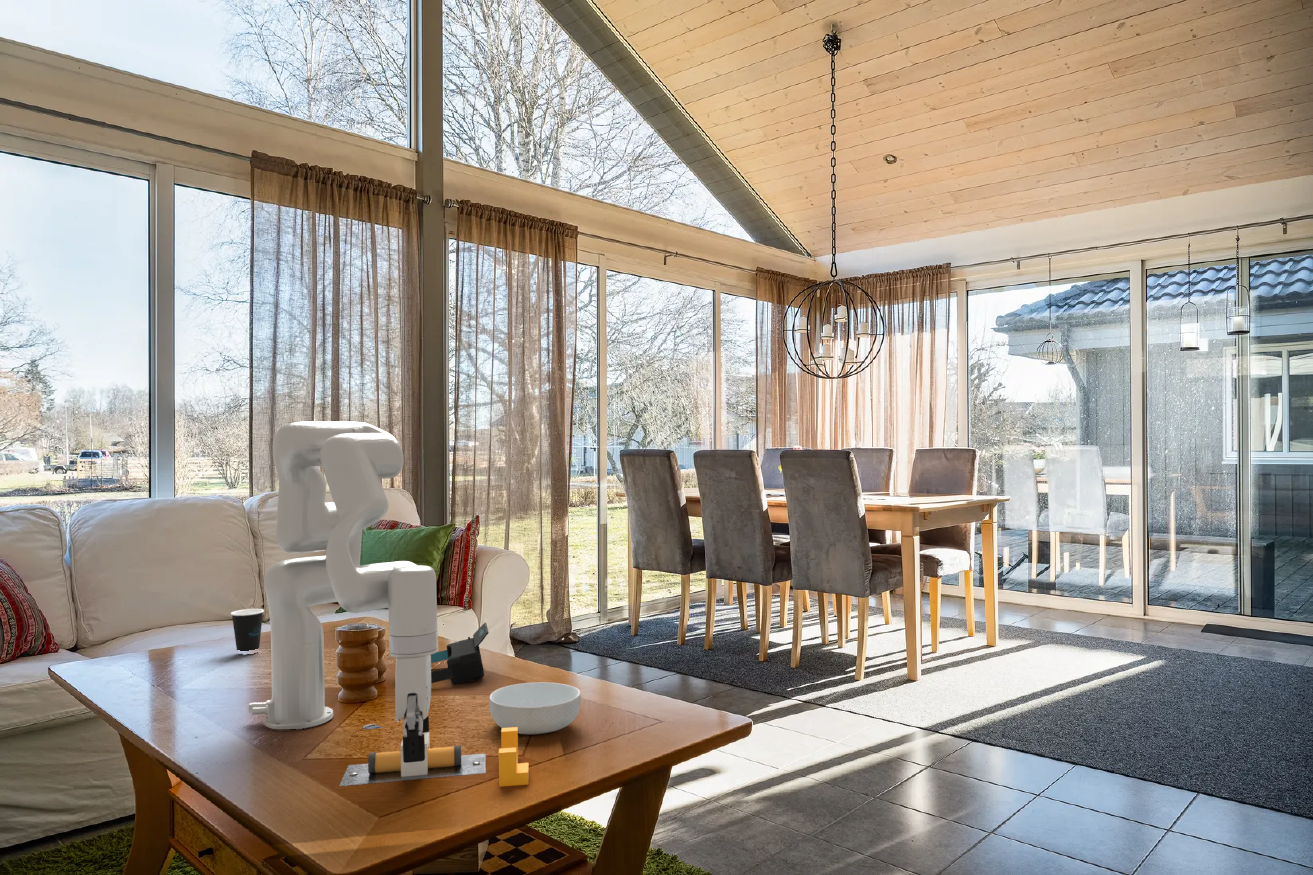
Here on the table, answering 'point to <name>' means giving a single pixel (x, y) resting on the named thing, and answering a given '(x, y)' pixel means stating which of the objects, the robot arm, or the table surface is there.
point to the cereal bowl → (535, 706)
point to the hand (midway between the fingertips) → (416, 751)
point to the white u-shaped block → (416, 767)
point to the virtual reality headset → (461, 660)
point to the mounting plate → (362, 776)
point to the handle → (435, 759)
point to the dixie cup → (247, 628)
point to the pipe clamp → (511, 760)
